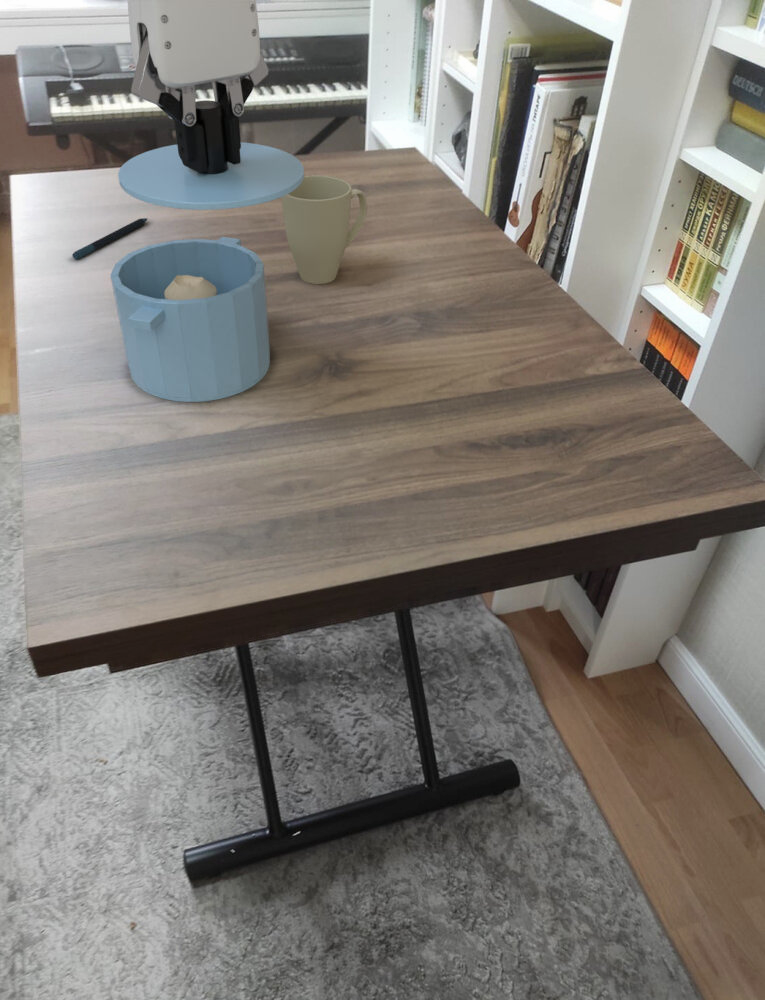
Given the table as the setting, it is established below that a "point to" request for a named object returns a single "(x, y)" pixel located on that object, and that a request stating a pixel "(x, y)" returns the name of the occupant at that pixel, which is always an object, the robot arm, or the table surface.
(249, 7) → the robot arm
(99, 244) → the pen
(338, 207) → the mug
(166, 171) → the lid
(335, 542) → the table surface
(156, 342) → the pot
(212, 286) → the candle
